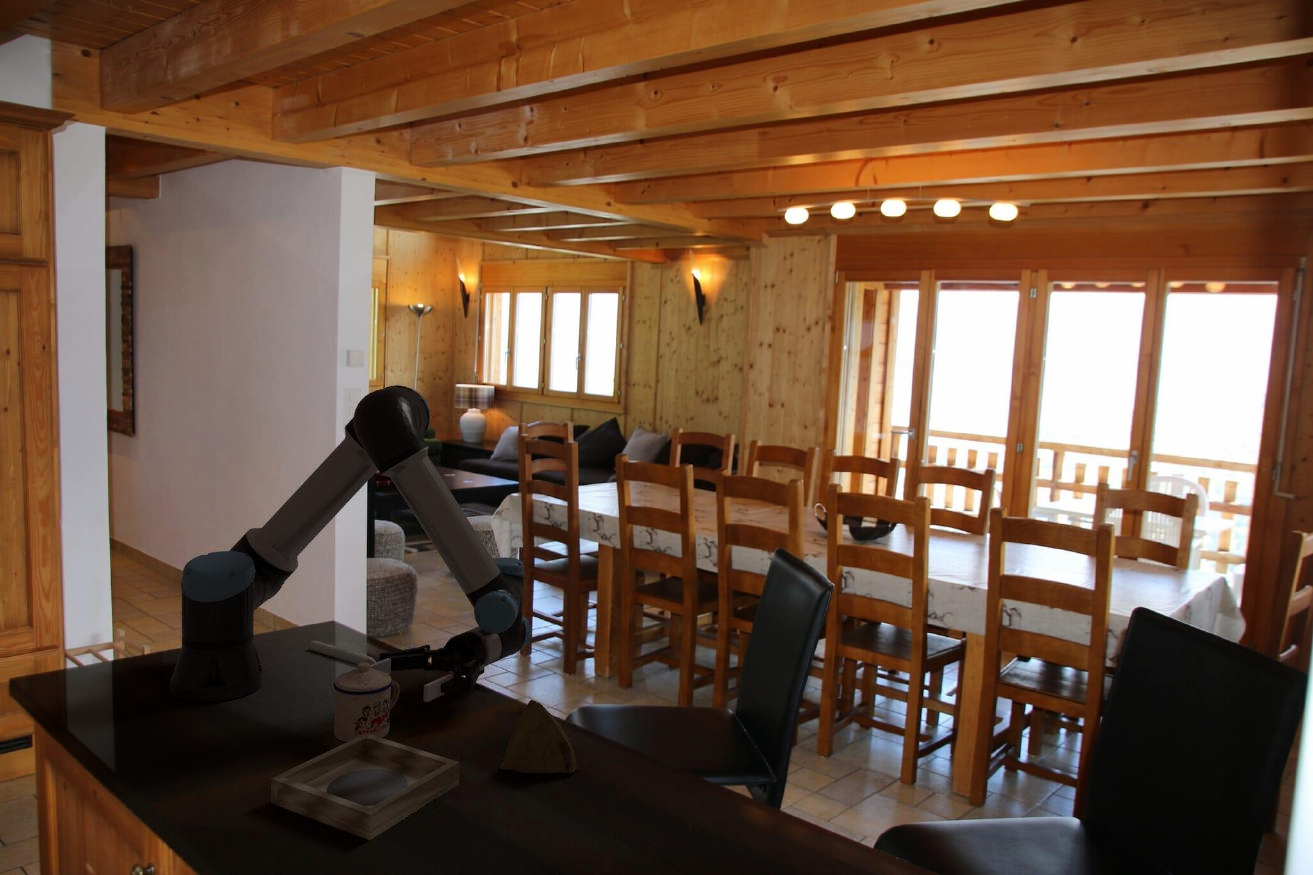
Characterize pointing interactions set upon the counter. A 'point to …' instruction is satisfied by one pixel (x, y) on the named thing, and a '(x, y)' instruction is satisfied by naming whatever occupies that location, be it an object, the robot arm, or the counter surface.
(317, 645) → the marker
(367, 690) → the teacup with lid
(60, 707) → the counter surface
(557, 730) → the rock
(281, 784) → the housing tray
